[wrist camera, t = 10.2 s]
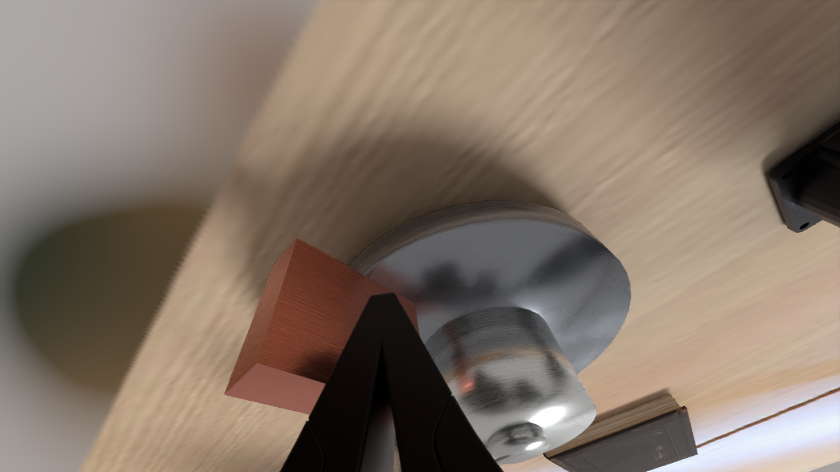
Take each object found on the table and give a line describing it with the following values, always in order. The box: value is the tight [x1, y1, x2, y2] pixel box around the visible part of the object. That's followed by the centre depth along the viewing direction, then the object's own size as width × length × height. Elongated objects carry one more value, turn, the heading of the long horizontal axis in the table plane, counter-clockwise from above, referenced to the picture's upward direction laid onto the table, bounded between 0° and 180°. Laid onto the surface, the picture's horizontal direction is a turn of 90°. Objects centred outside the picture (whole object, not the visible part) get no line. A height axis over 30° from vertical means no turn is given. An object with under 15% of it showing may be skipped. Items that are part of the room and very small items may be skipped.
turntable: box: [224, 200, 631, 414], centre depth 15 cm, size 16×16×6 cm
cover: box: [425, 307, 597, 465], centre depth 14 cm, size 7×7×5 cm
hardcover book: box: [543, 394, 698, 472], centre depth 40 cm, size 16×23×2 cm
